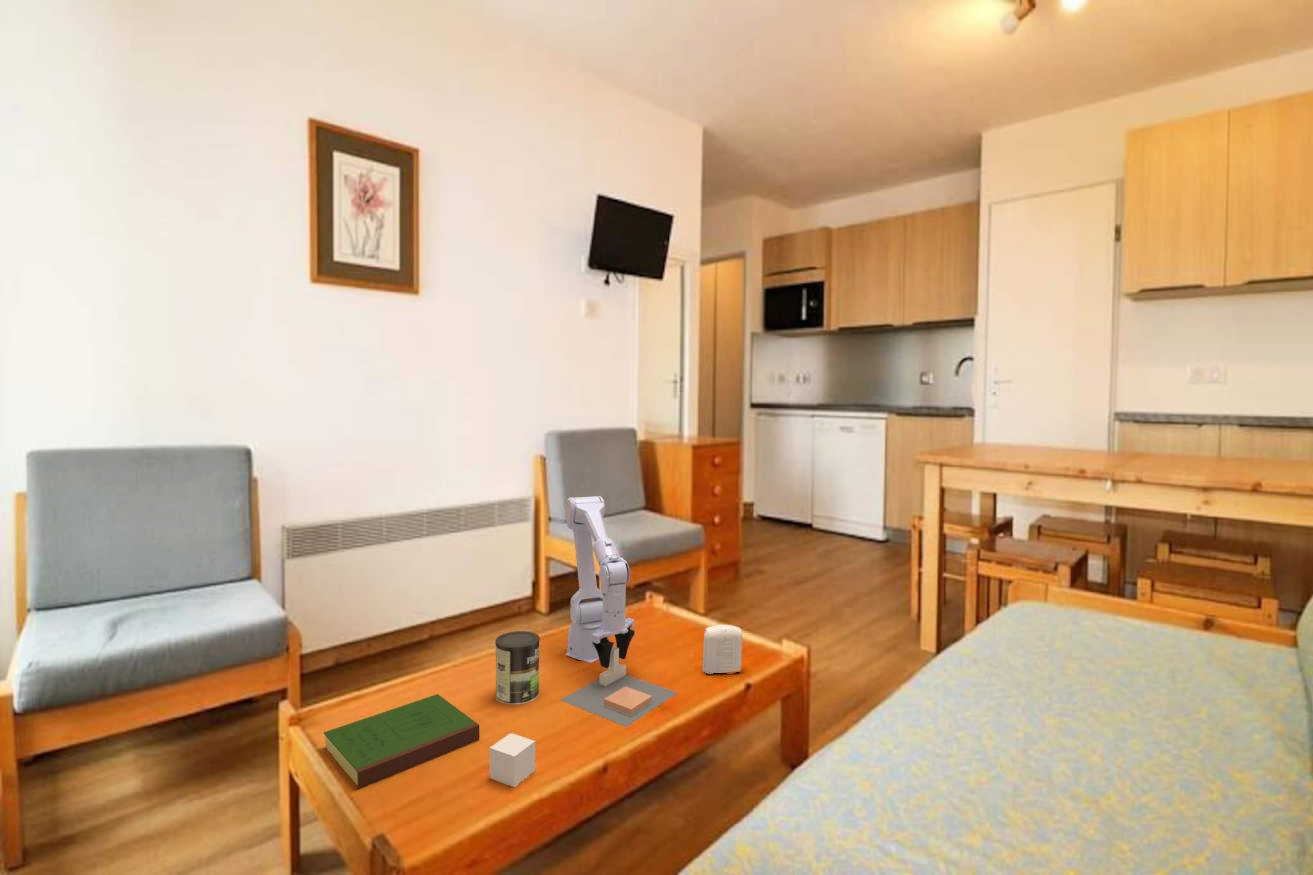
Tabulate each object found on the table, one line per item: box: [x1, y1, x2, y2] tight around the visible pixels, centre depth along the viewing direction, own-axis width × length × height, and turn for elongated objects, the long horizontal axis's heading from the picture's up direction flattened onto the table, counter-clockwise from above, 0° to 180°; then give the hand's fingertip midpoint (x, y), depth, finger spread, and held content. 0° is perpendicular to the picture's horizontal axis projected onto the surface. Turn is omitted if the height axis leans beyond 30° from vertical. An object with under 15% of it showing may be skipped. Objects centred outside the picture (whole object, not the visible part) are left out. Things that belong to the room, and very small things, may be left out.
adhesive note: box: [489, 733, 536, 788], centre depth 121 cm, size 6×6×6 cm
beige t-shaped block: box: [599, 645, 627, 686], centre depth 161 cm, size 2×8×8 cm, turn 144°
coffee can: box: [495, 630, 541, 705], centre depth 152 cm, size 10×10×14 cm
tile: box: [604, 686, 652, 716], centre depth 148 cm, size 2×8×8 cm
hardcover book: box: [323, 693, 480, 790], centre depth 131 cm, size 25×19×4 cm
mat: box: [559, 674, 678, 728], centre depth 152 cm, size 20×20×1 cm
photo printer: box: [702, 624, 743, 675], centre depth 167 cm, size 10×4×12 cm, turn 98°
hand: (613, 662), depth 161 cm, fingers open, 6 cm apart
